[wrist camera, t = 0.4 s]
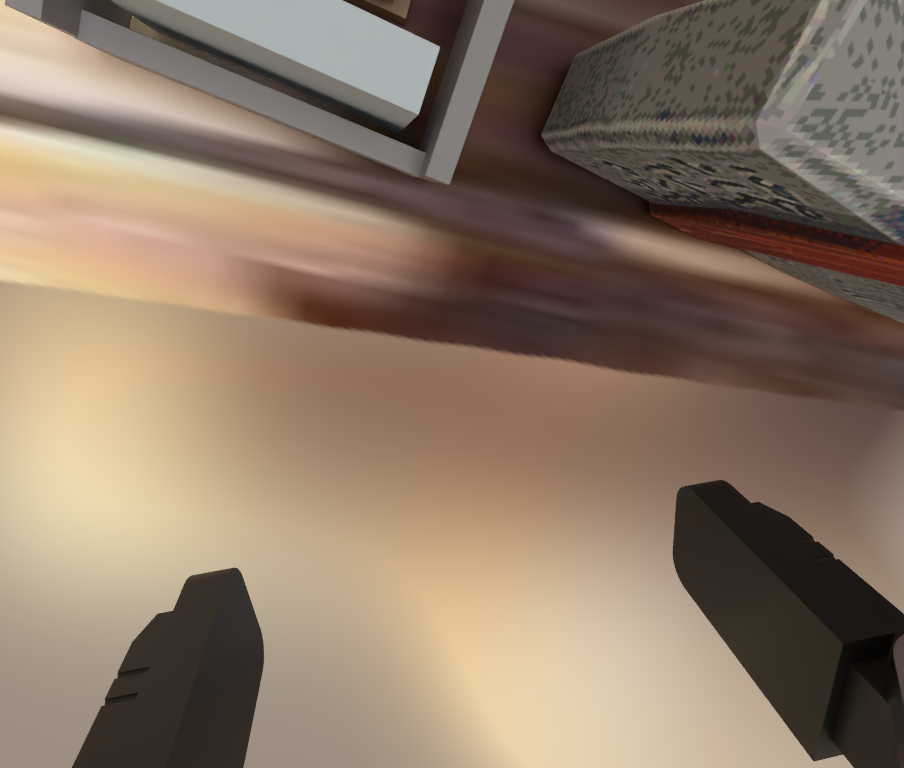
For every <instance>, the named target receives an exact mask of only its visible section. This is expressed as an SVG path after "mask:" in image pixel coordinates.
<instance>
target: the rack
mask: <svg viewBox="0 0 904 768" xmlns="http://www.w3.org/2000/svg"><path fill="white" fill-rule="evenodd" d="M513 2H514V0H467V3H466V6H465V9H464V12H463V15H462V18H461V21H460V24H459V27H458V30H457V34H456V37H455V40H454V43H453V46H452V49H451V52H450V55H449V58H448V61H447V64H446V67H445V70H444V73H443V76H442V79H441V82H440V85H439V88H438V92H437V95H436V98H435V101H434V104H433V107H432V110H431V113H430V116H429V119H428V122H427V125H426V128H425V131H424V134H423V137H422V140H421V143H420V146H419V150H418V149H415V148H413V147H410V146H408V145H406V144H403V143H401V142H399V141H396V140H394V139H391V138H389V137H387V136H384V135H382V134H379V133H377V132H375V131H372V130H370V129H367V128H365V127H363V126H360V125H358V124H355V123H353V122H351V121H348V120H346V119H343V118H341V117H339V116H336V115H334V114H331V113H329V112H327V111H324V110H322V109H319V108H317V107H315V106H312V105H310V104H307V103H305V102H303V101H300V100H298V99H296V98H293V97H291V96H288V95H286V94H284V93H281V92H279V91H276V90H274V89H272V88H269V87H267V86H264V85H262V84H260V83H257V82H255V81H252V80H250V79H248V78H245V77H243V76H240V75H238V74H236V73H233V72H231V71H228V70H226V69H224V68H221V67H219V66H216V65H214V64H212V63H209V62H207V61H204V60H202V59H200V58H197V57H195V56H192V55H190V54H188V53H185V52H183V51H181V50H178V49H176V48H173V47H171V46H169V45H166V44H164V43H161V42H159V41H157V40H154V39H152V38H149V37H147V36H145V35H142V34H140V33H137V32H135V31H133V30H130V29H129V24H130V18H131V14H130V13H129V12H127V11H126V10H124V9H123V8H121V7H120V6H118V5H117V4H116V3H114V2H113V1H111V0H5V5H6V6H9V7H11V8H13V9H15V10H17V11H19V12H22V13H24V14H26V15H28V16H30V17H32V18H34V19H37V20H39V21H41V22H43V23H45V24H47V25H49V26H52V27H54V28H56V29H58V30H60V31H62V32H64V33H67V34H69V35H71V36H73V37H75V39H78V40H80V41H82V42H84V43H86V44H88V45H91V46H93V47H95V48H97V49H99V50H101V51H104V52H106V53H108V54H110V55H112V56H114V57H117V58H119V59H121V60H123V61H126V62H128V63H131V64H133V65H136V66H138V67H141V68H143V69H146V70H148V71H151V72H153V73H156V74H158V75H161V76H163V77H166V78H168V79H171V80H173V81H176V82H178V83H181V84H183V85H185V86H188V87H190V88H193V89H195V90H198V91H200V92H203V93H205V94H208V95H210V96H213V97H215V98H218V99H220V100H223V101H225V102H228V103H230V104H233V105H235V106H238V107H240V108H243V109H245V110H248V111H250V112H253V113H255V114H258V115H260V116H263V117H265V118H268V119H270V120H273V121H275V122H278V123H280V124H282V125H285V126H287V127H290V128H292V129H295V130H297V131H300V132H302V133H305V134H307V135H310V136H312V137H315V138H317V139H320V140H322V141H325V142H327V143H330V144H332V145H335V146H337V147H340V148H342V149H345V150H347V151H350V152H352V153H355V154H357V155H360V156H362V157H365V158H367V159H370V160H372V161H375V162H377V163H380V164H382V165H384V166H387V167H389V168H392V169H394V170H397V171H399V172H402V173H404V174H407V175H409V176H413V177H419V178H422V179H424V180H426V181H429V182H435V183H440V184H446V185H450V182H451V179H452V176H453V173H454V171H455V168H456V165H457V162H458V159H459V156H460V153H461V151H462V148H463V145H464V142H465V139H466V136H467V133H468V131H469V128H470V125H471V122H472V119H473V116H474V114H475V111H476V108H477V105H478V102H479V99H480V96H481V94H482V91H483V88H484V85H485V82H486V79H487V76H488V74H489V71H490V68H491V65H492V62H493V59H494V57H495V54H496V51H497V48H498V45H499V42H500V39H501V37H502V34H503V31H504V28H505V25H506V22H507V19H508V17H509V14H510V11H511V8H512V5H513Z"/></svg>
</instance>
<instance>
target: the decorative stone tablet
mask: <svg viewBox="0 0 904 768" xmlns="http://www.w3.org/2000/svg"><path fill="white" fill-rule="evenodd" d="M541 136H542V137H543V139H544V141H545V142H546V144H547V146H548V147H549V149H550V150H551V151H552V152H554V153H556V154H558V155H560V156H562V157H564V158H566V159H568V160H570V161H572V162H574V163H575V164H577V165H579V166H581V167H583V168H585V169H587V170H589V171H591V172H593V173H595V174H597V175H599V176H601V177H603V178H605V179H607V180H609V181H610V182H612V183H614V184H616V185H618V186H620V187H622V188H624V189H626V190H628V191H630V192H632V193H634V194H636V195H638V196H640V197H642V198H644V199H645V200H647V201H649V205H650V212H651V215H652V216H654V217H656V218H658V219H660V220H662V221H664V222H666V223H668V224H670V225H672V226H674V227H676V228H678V229H680V230H682V231H684V232H686V233H688V234H690V235H691V236H693V237H695V238H697V239H699V240H703V241H707V242H712V243H716V244H720V245H725V246H729V247H734V248H738V249H742V250H745V251H747V252H749V253H750V254H751V255H753V256H754V257H756V258H757V259H759V260H761V261H763V262H765V263H767V264H769V265H770V266H772V267H774V268H776V269H778V270H780V271H782V272H785V273H787V274H789V275H791V276H794V277H796V278H798V279H800V280H803V281H805V282H807V283H809V284H811V285H814V286H816V287H818V288H820V289H823V290H825V291H827V292H829V293H832V294H834V295H836V296H838V297H841V298H843V299H846V300H848V301H851V302H853V303H855V304H858V305H860V306H863V307H865V308H868V309H870V310H873V311H875V312H877V313H880V314H882V315H885V316H887V317H890V318H892V319H894V320H897V321H899V322H902V323H904V0H704V1H701V2H698V3H695V4H692V5H688V6H685V7H682V8H679V9H676V10H672V11H669V12H666V13H663V14H660V15H656V16H654V17H652V18H650V19H648V20H646V21H644V22H642V23H639V24H637V25H635V26H633V27H631V28H629V29H627V30H625V31H623V32H621V33H619V34H617V35H615V36H613V37H611V38H609V39H607V40H605V41H603V42H601V43H598V44H596V45H594V46H592V47H590V48H588V49H586V50H584V51H582V52H580V53H578V54H576V55H575V58H574V60H573V62H572V65H571V67H570V69H569V72H568V74H567V76H566V78H565V81H564V83H563V85H562V88H561V90H560V92H559V95H558V97H557V99H556V102H555V104H554V106H553V109H552V111H551V113H550V116H549V118H548V120H547V123H546V125H545V127H544V130H543V132H542V134H541Z"/></svg>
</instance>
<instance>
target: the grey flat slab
mask: <svg viewBox="0 0 904 768" xmlns="http://www.w3.org/2000/svg"><path fill="white" fill-rule="evenodd" d="M111 1H113V2H114V3H116V4H117V5H118V6H120V7H121V8H123V9H124V10H126V11H127V12H129V13H130V14H132V15H133V16H135V17H136V18H138V19H139V20H140V21H142V22H143V23H145V24H146V25H148V26H149V27H151V28H152V29H154V30H155V31H157V32H158V33H160V34H162V35H164V36H167V37H169V38H171V39H174V40H176V41H178V42H181V43H183V44H186V45H188V46H190V47H193V48H195V49H197V50H200V51H202V52H205V53H207V54H209V55H212V56H214V57H216V58H219V59H221V60H224V61H226V62H228V63H231V64H233V65H235V66H238V67H240V68H243V69H245V70H247V71H250V72H252V73H254V74H257V75H259V76H262V77H264V78H266V79H269V80H271V81H273V82H276V83H278V84H281V85H283V86H285V87H288V88H290V89H292V90H295V91H297V92H300V93H302V94H304V95H307V96H309V97H311V98H314V99H316V100H319V101H321V102H323V103H326V104H328V105H330V106H333V107H335V108H338V109H340V110H342V111H345V112H347V113H349V114H352V115H354V116H357V117H359V118H361V119H364V120H366V121H368V122H371V123H373V124H376V125H378V126H380V127H383V128H385V129H387V130H390V131H392V132H395V133H397V134H398V133H399V132H400V131H402V130H403V129H404V128H405V127H406V126H407V125H408V124H409V123H410V122H411V121H412V120H413V119H414V118H416V117H417V116H418V115H419V112H420V109H421V105H422V102H423V99H424V96H425V93H426V90H427V87H428V84H429V81H430V77H431V74H432V71H433V68H434V65H435V62H436V59H437V56H438V53H439V49H440V47H439V46H437V45H435V44H433V43H431V42H429V41H427V40H425V39H423V38H421V37H418V36H416V35H414V34H412V33H410V32H408V31H406V30H404V29H402V28H400V27H398V26H395V25H393V24H391V23H389V22H387V21H385V20H383V19H381V18H379V17H377V16H374V15H372V14H370V13H368V12H366V11H364V10H362V9H360V8H358V7H356V6H354V5H351V4H349V3H347V2H345V1H343V0H111Z"/></svg>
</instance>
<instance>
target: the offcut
mask: <svg viewBox="0 0 904 768" xmlns="http://www.w3.org/2000/svg"><path fill="white" fill-rule="evenodd" d="M349 1H351V2H353V3H355V4H358V5H360V6H362V7H364V8H367V9H369V10H371V11H373V12H376V13H378V14H380V15H382V16H384V17H387V18H389V19H391V20H393V21H396V22H398V23H400V24H402V25H404V23H405V20H406V16H407V13H408V9H409V5H410V2H411V0H394V1H393V3H391V2H388V1H385V0H349Z"/></svg>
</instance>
